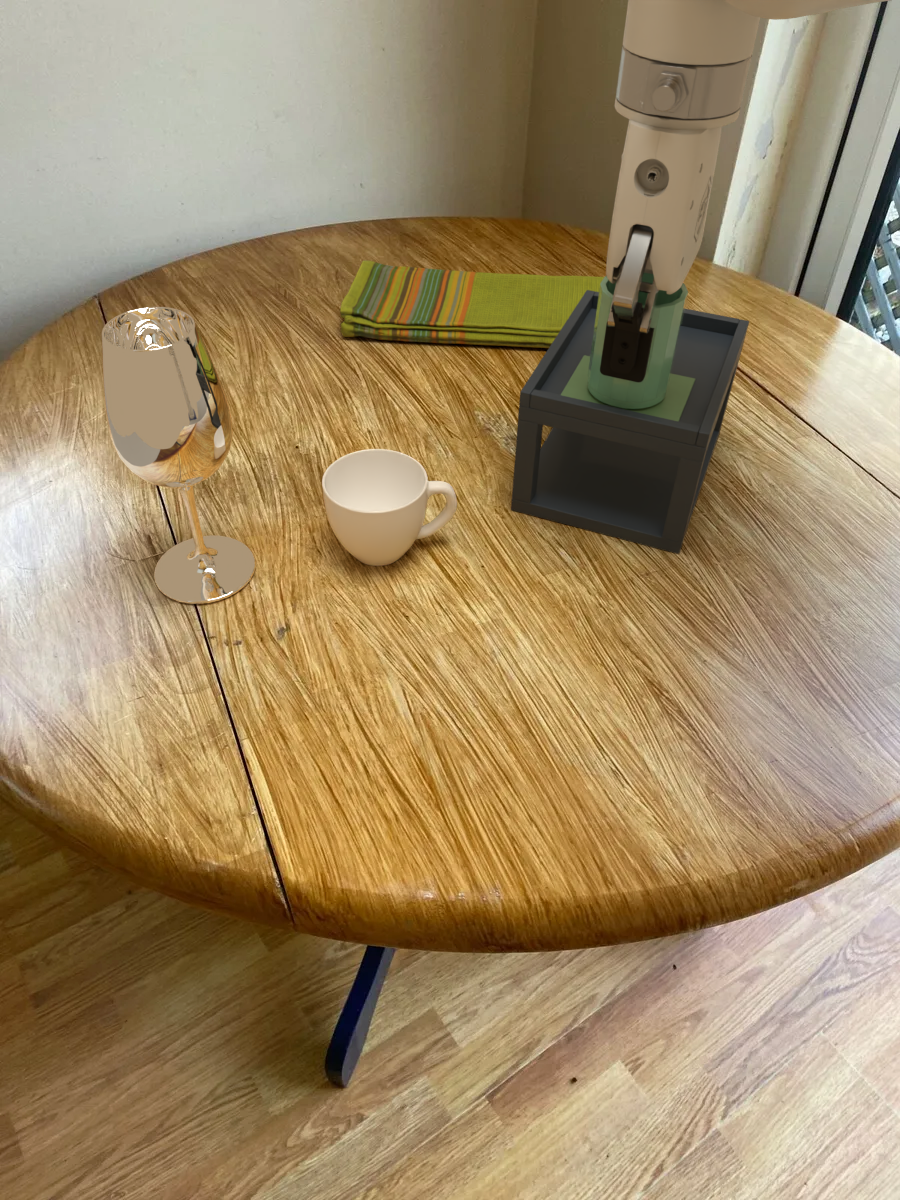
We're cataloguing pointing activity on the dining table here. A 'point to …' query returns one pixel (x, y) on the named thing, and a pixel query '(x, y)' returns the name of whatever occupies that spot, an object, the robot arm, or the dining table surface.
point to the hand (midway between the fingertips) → (633, 352)
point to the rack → (624, 434)
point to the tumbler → (660, 356)
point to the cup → (381, 504)
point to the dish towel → (460, 305)
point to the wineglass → (173, 438)
